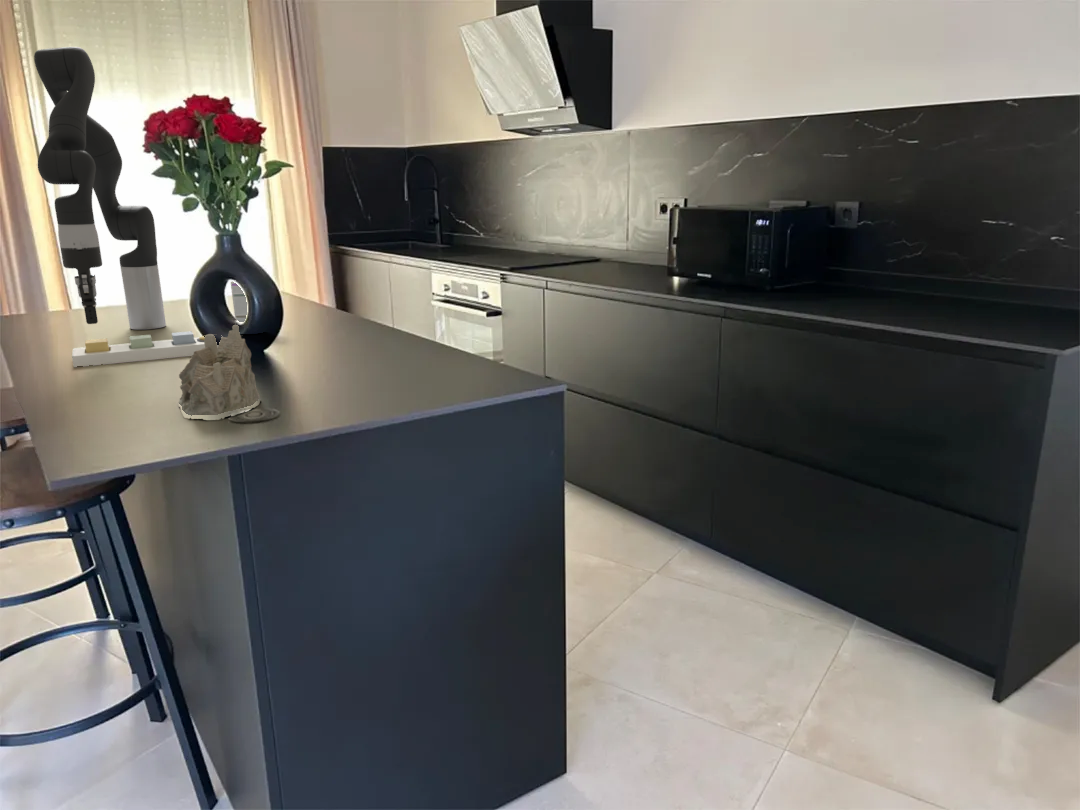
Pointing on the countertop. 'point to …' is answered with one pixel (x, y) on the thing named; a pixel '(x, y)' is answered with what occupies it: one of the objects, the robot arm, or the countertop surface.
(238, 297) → the syrup box
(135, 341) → the sage button
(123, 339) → the countertop surface
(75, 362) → the button panel
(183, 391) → the ceramic cottage
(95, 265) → the robot arm
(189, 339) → the slate button
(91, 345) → the ochre button
